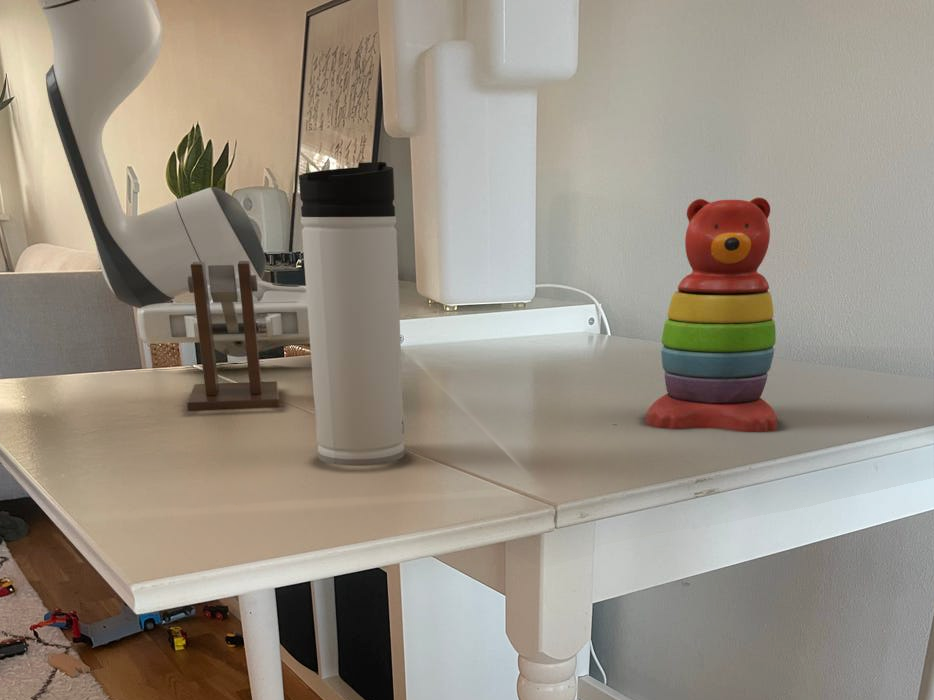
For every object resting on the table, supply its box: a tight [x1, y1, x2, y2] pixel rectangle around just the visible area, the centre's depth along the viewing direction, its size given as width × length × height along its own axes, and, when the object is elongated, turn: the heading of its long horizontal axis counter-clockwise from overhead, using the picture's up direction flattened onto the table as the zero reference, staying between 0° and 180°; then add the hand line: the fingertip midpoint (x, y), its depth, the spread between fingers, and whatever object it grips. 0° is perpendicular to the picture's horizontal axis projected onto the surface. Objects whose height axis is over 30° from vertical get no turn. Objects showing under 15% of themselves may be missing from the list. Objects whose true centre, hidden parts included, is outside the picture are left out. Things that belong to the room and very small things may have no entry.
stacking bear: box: [645, 197, 778, 433], centre depth 81 cm, size 11×10×18 cm
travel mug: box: [298, 161, 405, 467], centre depth 67 cm, size 6×7×20 cm
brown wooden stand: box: [186, 261, 280, 412], centre depth 89 cm, size 10×8×13 cm
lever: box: [208, 265, 258, 335], centre depth 94 cm, size 16×5×2 cm, turn 11°
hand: (233, 329), depth 100 cm, fingers closed on lever, 5 cm apart
